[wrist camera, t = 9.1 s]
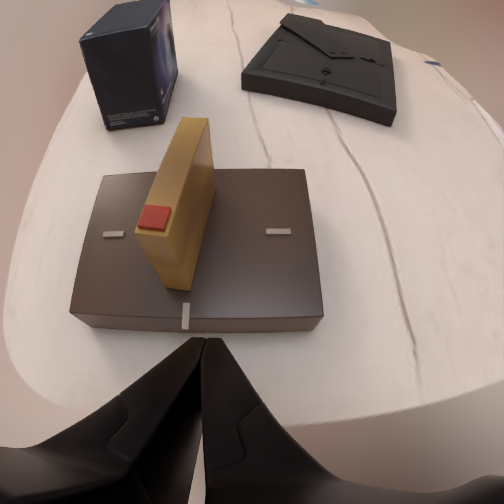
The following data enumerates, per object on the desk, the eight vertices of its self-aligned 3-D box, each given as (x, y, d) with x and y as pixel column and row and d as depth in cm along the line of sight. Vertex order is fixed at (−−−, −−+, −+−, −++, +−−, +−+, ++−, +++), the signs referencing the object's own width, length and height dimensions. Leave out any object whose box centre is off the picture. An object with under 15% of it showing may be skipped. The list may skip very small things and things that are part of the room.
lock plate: (298, 190, 23) (304, 160, 21) (313, 340, 18) (325, 326, 15) (117, 194, 23) (104, 167, 20) (89, 336, 18) (65, 321, 15)
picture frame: (286, 28, 39) (241, 89, 30) (287, 13, 37) (241, 66, 27) (387, 53, 37) (390, 127, 28) (391, 38, 35) (399, 105, 25)
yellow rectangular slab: (194, 185, 20) (181, 113, 15) (216, 187, 20) (208, 114, 14) (165, 287, 16) (131, 229, 11) (190, 291, 16) (165, 233, 11)
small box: (168, 124, 27) (149, 24, 18) (105, 133, 27) (73, 42, 18) (181, 71, 32) (171, -7, 23) (129, 78, 32) (112, 4, 23)
